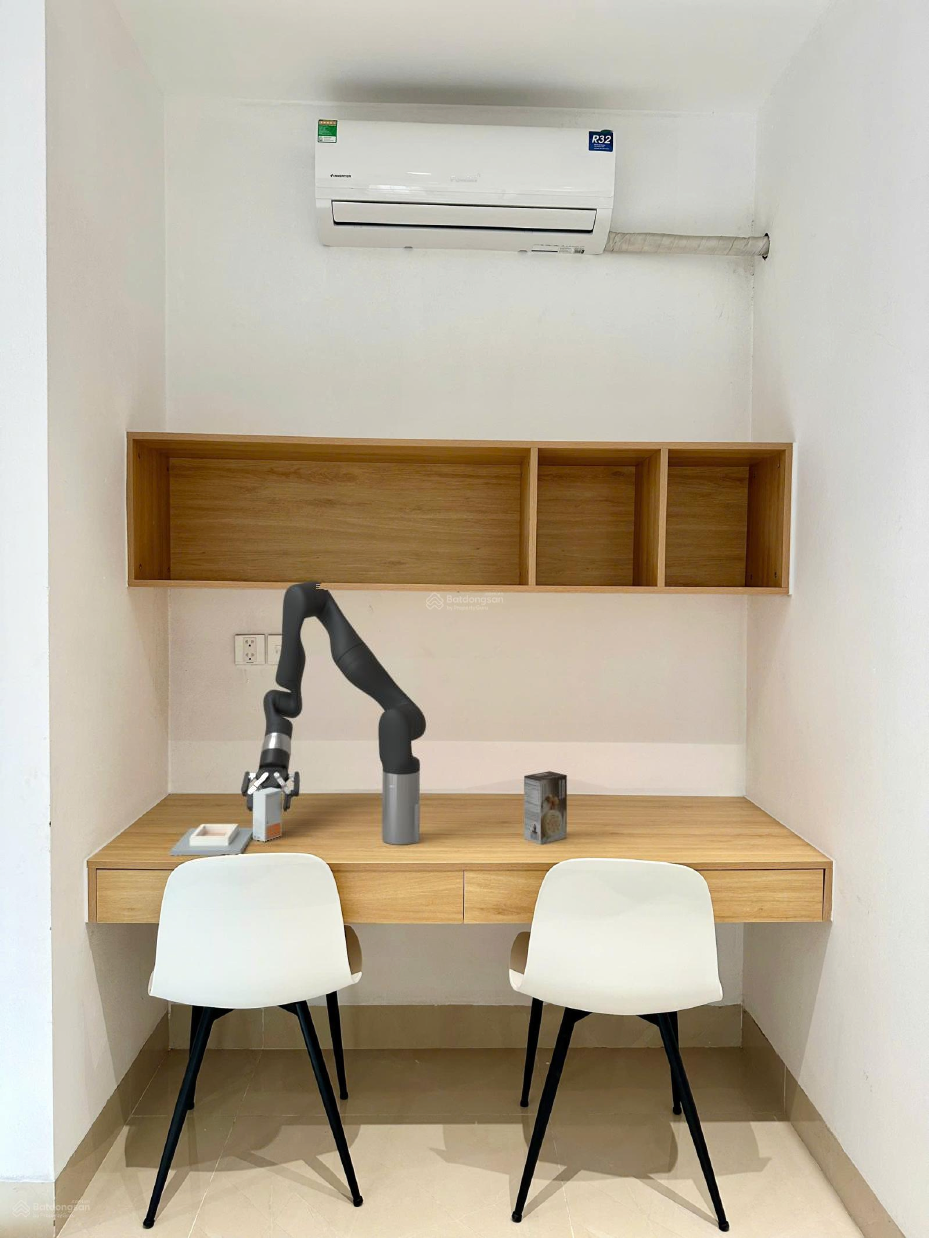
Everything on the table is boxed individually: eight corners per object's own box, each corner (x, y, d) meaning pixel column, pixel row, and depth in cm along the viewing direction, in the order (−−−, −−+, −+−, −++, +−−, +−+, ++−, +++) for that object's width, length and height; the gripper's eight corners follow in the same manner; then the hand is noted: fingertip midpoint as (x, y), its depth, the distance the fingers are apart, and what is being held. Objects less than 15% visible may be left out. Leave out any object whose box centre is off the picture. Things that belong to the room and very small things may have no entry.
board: (255, 832, 215) (255, 819, 215) (240, 855, 197) (240, 841, 197) (190, 832, 214) (190, 820, 214) (170, 855, 196) (170, 842, 196)
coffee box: (549, 832, 217) (550, 770, 217) (567, 838, 212) (568, 774, 212) (522, 838, 212) (523, 775, 211) (540, 845, 207) (541, 779, 206)
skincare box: (265, 842, 207) (265, 794, 206) (252, 839, 209) (252, 791, 208) (282, 836, 212) (282, 789, 211) (270, 833, 214) (269, 786, 214)
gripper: (245, 746, 218) (236, 802, 207) (301, 746, 219) (295, 802, 208) (250, 762, 224) (240, 817, 213) (304, 762, 224) (298, 817, 214)
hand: (267, 809), depth 210 cm, fingers open, 8 cm apart
